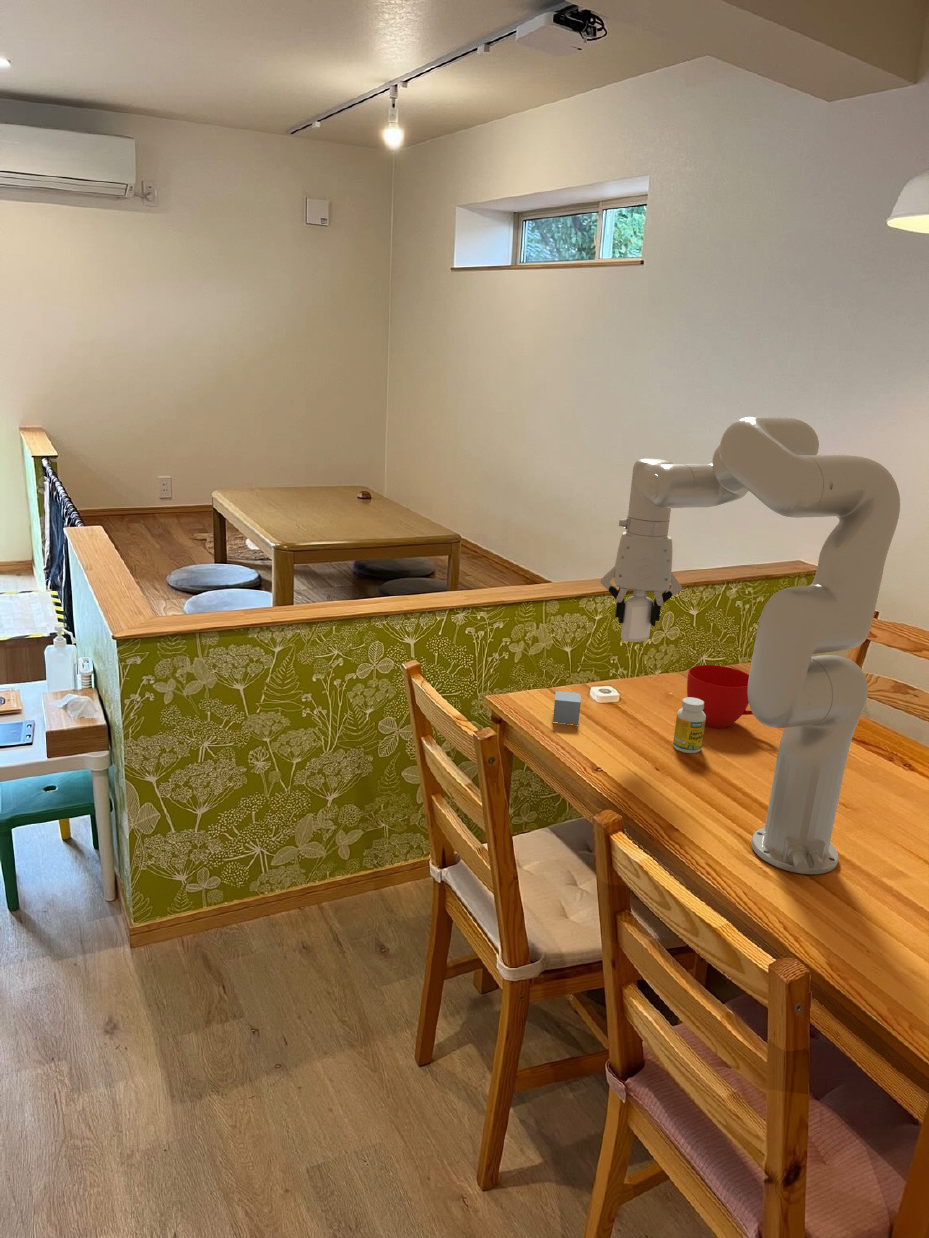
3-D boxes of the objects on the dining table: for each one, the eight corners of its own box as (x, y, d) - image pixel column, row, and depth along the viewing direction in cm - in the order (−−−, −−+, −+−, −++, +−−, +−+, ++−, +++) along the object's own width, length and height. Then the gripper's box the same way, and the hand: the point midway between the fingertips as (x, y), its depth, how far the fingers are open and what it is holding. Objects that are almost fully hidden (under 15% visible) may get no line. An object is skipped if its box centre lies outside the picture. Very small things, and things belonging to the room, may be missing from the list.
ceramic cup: (756, 745, 183) (764, 697, 180) (672, 723, 192) (679, 676, 189) (773, 725, 194) (781, 679, 191) (693, 704, 202) (700, 660, 199)
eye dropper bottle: (652, 643, 177) (659, 581, 174) (622, 642, 177) (629, 579, 174) (647, 636, 181) (654, 575, 178) (617, 635, 181) (624, 573, 178)
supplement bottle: (686, 740, 184) (693, 693, 181) (707, 750, 180) (714, 703, 177) (666, 745, 181) (672, 698, 178) (687, 756, 177) (694, 708, 174)
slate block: (578, 726, 187) (580, 702, 186) (552, 723, 188) (555, 699, 186) (578, 716, 192) (580, 693, 191) (553, 713, 192) (555, 690, 191)
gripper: (600, 527, 170) (591, 624, 175) (697, 535, 169) (685, 632, 174) (599, 520, 178) (590, 613, 183) (692, 527, 176) (680, 621, 181)
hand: (636, 621), depth 178 cm, fingers closed on eye dropper bottle, 5 cm apart
